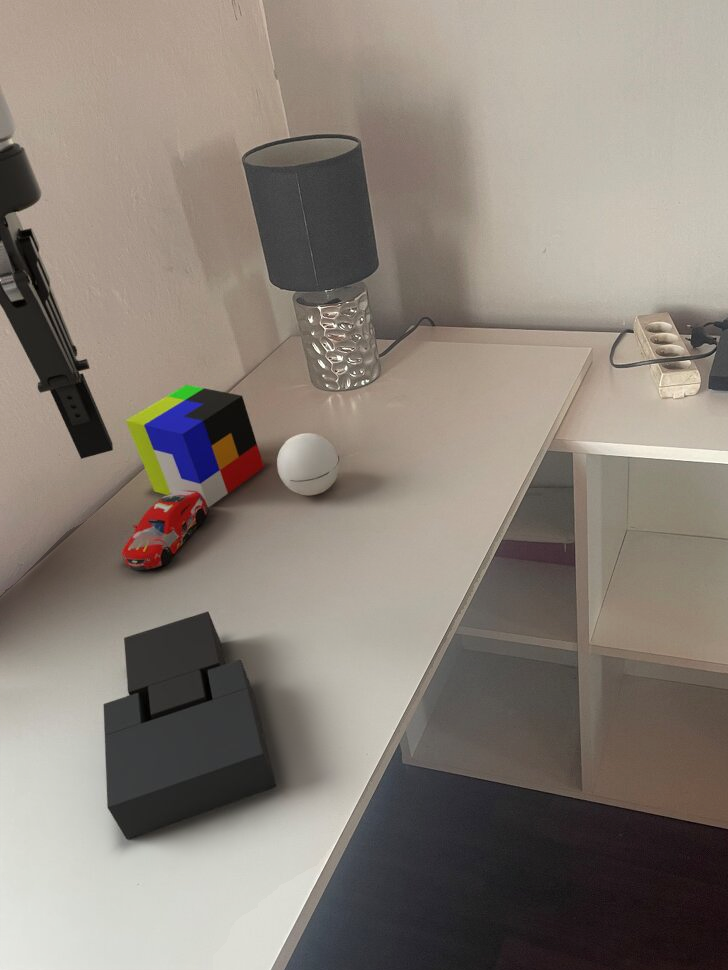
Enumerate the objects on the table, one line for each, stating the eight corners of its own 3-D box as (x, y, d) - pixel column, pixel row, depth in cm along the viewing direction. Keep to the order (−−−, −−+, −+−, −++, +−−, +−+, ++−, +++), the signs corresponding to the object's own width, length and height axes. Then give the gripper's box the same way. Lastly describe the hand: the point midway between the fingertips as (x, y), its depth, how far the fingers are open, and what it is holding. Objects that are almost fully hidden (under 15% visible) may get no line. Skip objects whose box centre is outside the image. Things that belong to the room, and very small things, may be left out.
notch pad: (120, 735, 76) (103, 703, 74) (253, 691, 78) (240, 658, 76) (126, 839, 67) (107, 807, 65) (276, 786, 69) (263, 753, 67)
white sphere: (279, 510, 102) (263, 456, 98) (292, 477, 108) (277, 424, 104) (362, 503, 101) (349, 448, 97) (370, 470, 107) (358, 417, 102)
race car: (159, 577, 95) (146, 548, 92) (118, 573, 97) (104, 544, 94) (218, 510, 104) (207, 481, 102) (180, 507, 106) (168, 479, 103)
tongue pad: (139, 668, 83) (123, 637, 81) (220, 642, 85) (208, 610, 82) (147, 753, 74) (130, 721, 72) (238, 722, 76) (224, 690, 73)
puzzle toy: (208, 507, 105) (182, 433, 99) (154, 491, 110) (125, 420, 104) (264, 467, 111) (242, 395, 105) (210, 453, 116) (186, 384, 110)
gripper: (-79, 148, 64) (54, 431, 79) (-107, 181, 54) (51, 498, 69) (24, 127, 66) (136, 409, 80) (15, 155, 56) (144, 472, 70)
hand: (96, 450), depth 75 cm, fingers closed
